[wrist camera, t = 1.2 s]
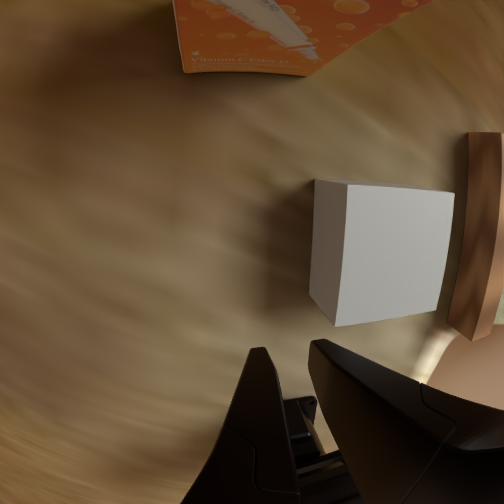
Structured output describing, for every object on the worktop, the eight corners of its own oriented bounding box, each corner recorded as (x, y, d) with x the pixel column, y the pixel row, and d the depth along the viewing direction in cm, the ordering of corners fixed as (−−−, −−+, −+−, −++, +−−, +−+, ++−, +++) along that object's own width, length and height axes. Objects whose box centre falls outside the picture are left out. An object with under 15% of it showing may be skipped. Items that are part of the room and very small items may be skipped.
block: (398, 284, 23) (435, 310, 18) (307, 293, 22) (334, 327, 17) (409, 184, 21) (454, 193, 16) (313, 178, 19) (347, 184, 15)
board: (464, 317, 25) (489, 334, 22) (446, 322, 25) (471, 341, 21) (486, 137, 20) (518, 139, 16) (468, 132, 20) (501, 132, 16)
